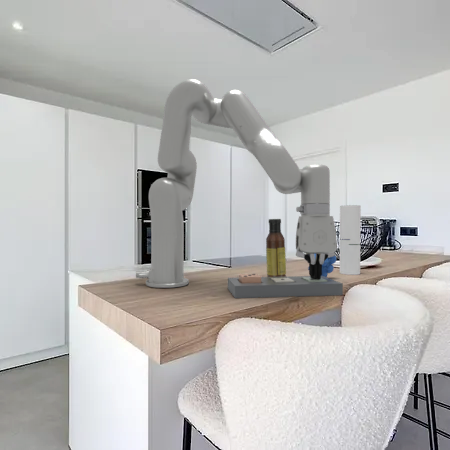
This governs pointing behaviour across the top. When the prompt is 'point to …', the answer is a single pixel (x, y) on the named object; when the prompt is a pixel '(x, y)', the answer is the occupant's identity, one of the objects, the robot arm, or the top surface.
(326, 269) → the grapes
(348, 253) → the cylindrical container
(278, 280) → the tile one
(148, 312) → the top surface
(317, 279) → the tile two
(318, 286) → the button board
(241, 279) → the tile three
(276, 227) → the sauce bottle
